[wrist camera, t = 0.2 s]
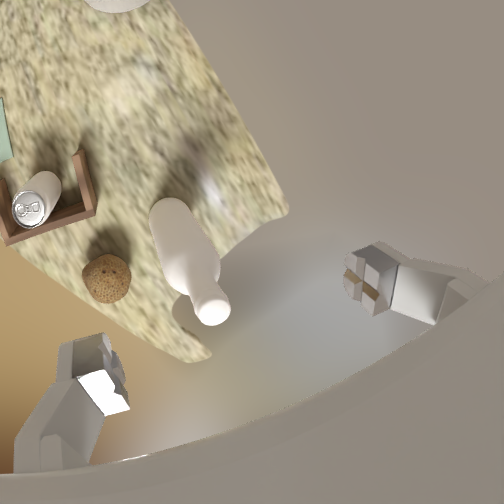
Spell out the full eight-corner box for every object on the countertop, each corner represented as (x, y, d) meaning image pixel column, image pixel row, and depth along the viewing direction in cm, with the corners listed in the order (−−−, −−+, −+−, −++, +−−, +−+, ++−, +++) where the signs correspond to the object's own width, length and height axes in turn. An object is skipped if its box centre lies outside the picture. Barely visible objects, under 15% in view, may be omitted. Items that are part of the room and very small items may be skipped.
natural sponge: (138, 273, 60) (143, 302, 51) (101, 292, 58) (101, 323, 50) (116, 235, 55) (117, 260, 46) (77, 256, 53) (72, 284, 45)
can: (27, 173, 43) (5, 192, 33) (59, 167, 45) (44, 183, 35) (32, 208, 46) (14, 234, 36) (64, 202, 48) (52, 227, 38)
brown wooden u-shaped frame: (-1, 180, 40) (-14, 190, 35) (83, 148, 46) (78, 154, 40) (16, 231, 46) (6, 246, 40) (97, 203, 51) (95, 215, 45)
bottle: (156, 243, 58) (193, 351, 34) (141, 206, 54) (166, 300, 30) (194, 227, 60) (257, 323, 36) (182, 190, 56) (241, 268, 32)
